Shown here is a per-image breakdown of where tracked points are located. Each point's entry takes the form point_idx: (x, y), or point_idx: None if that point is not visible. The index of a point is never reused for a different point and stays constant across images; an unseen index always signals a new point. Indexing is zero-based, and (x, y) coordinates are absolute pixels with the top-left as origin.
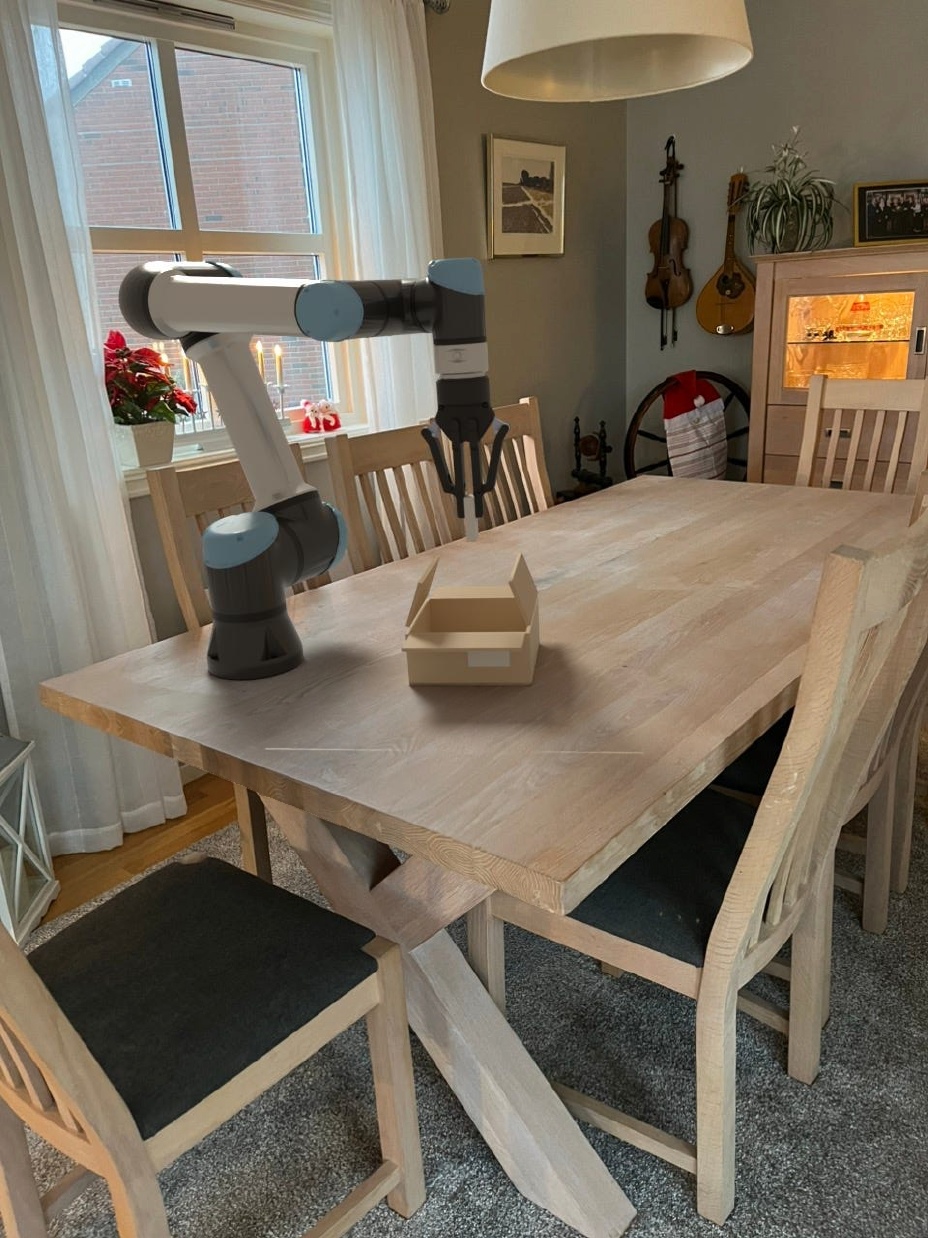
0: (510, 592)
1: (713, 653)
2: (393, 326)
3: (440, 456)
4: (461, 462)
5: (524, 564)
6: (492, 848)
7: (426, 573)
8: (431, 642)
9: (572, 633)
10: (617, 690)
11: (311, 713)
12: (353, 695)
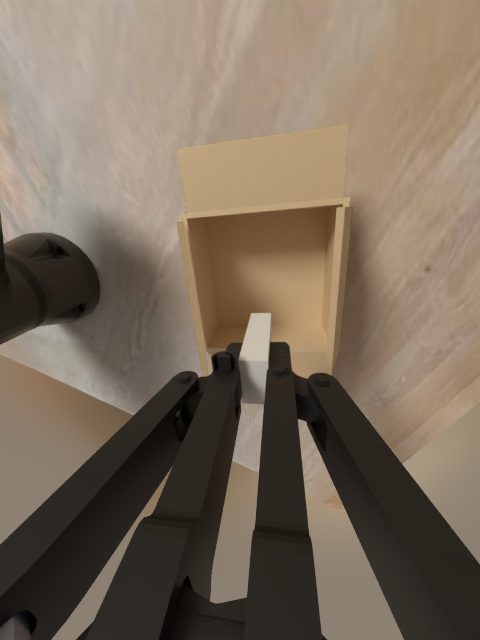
0: (303, 176)
1: None
2: None
3: (128, 528)
4: (222, 503)
5: (345, 229)
6: (310, 494)
7: (199, 337)
8: None
9: (379, 146)
10: (405, 330)
11: (163, 372)
12: (178, 343)
